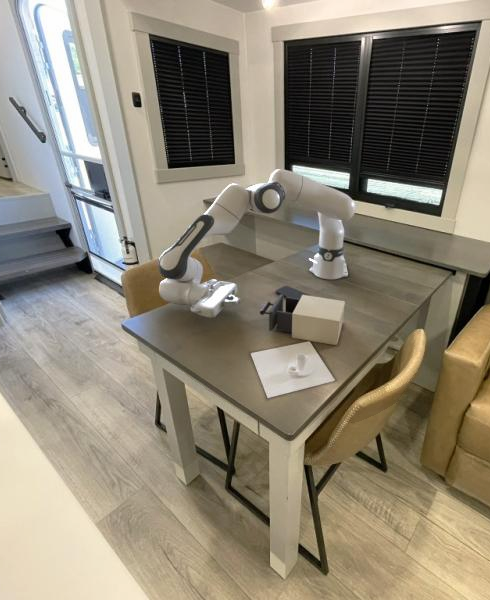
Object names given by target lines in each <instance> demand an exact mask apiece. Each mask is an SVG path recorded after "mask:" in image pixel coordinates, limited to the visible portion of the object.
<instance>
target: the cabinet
mask: <svg viewBox="0 0 490 600" xmlns="http://www.w3.org/2000/svg"><path fill="white" fill-rule="evenodd" d="M345 306H346V301H345V300H338V299H332V298H325V297H319V296H313V295H310V296H307V295H302V297H301V299H300V300H299V302H298V304H297V306H296V308H295V310H294V312H293V314H292V332H291V338H292V339H298V340H303V341H310V342H314V343H321V344H327V345H333V346H338V342H339V338H340V335H341V331H342V327H343V322H344V315H345Z"/></svg>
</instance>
